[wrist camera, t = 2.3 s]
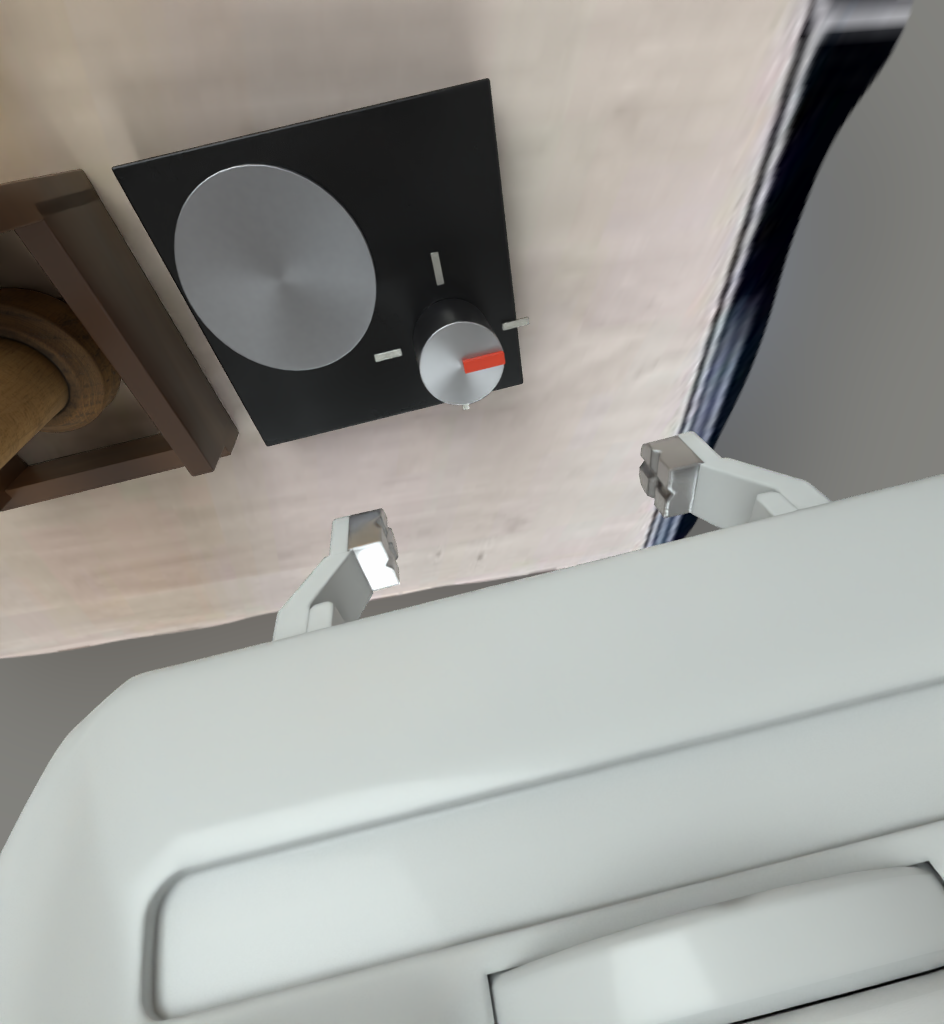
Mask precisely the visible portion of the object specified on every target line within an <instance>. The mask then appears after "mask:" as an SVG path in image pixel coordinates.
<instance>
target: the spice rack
mask: <svg viewBox="0 0 944 1024" xmlns="http://www.w3.org/2000/svg"><path fill="white" fill-rule="evenodd" d="M11 230H14V231H15V232H16V233H17V235H18V236H19V237H20V239H21V240H22V242H23V243H24V244H25V246H26V247H27V249H28V250H29V251H30V253H31V254H32V255H33V257H34V258H35V260H36V261H37V262H38V264H39V265H40V267H41V268H42V269H43V271H44V272H45V273H46V275H47V276H48V278H49V279H50V280H51V282H52V283H53V284H54V286H55V287H56V289H57V290H58V291H59V293H60V294H61V296H62V297H63V298H64V300H65V301H66V302H67V304H68V305H69V307H70V308H71V309H72V311H73V312H74V313H75V315H76V316H77V318H78V319H79V320H80V322H81V323H82V325H83V326H84V327H85V329H86V330H87V331H88V333H89V334H90V336H91V337H92V338H93V340H94V341H95V342H96V344H97V345H98V347H99V348H100V349H101V351H102V352H103V354H104V355H105V356H106V358H107V359H108V360H109V362H110V363H111V365H112V366H113V367H114V369H115V370H116V372H117V373H118V374H119V376H120V377H121V378H122V380H123V381H124V383H125V384H126V385H127V387H128V388H129V389H130V391H131V392H132V394H133V395H134V396H135V398H136V399H137V401H138V402H139V403H140V405H141V406H142V407H143V409H144V410H145V412H146V413H147V414H148V416H149V417H150V418H151V420H152V421H153V423H154V424H155V425H156V427H157V428H158V430H159V431H160V432H161V434H157V435H153V436H149V437H144V438H140V439H136V440H132V441H128V442H124V443H120V444H116V445H112V446H108V447H104V448H100V449H96V450H92V451H87V452H83V453H79V454H75V455H71V456H67V457H63V458H59V459H55V460H51V461H47V462H43V463H39V464H34V465H30V466H28V465H27V464H26V463H25V462H24V461H23V460H22V459H21V458H20V457H19V456H18V455H17V454H15V455H14V456H13V457H12V458H11V459H10V460H9V461H8V462H7V463H6V464H5V465H4V466H3V467H2V468H1V469H0V512H1V511H6V510H10V509H14V508H18V507H22V506H26V505H30V504H34V503H38V502H42V501H46V500H50V499H54V498H58V497H62V496H66V495H70V494H74V493H79V492H83V491H87V490H91V489H95V488H99V487H103V486H107V485H111V484H115V483H119V482H123V481H127V480H131V479H135V478H139V477H143V476H147V475H151V474H156V473H160V472H164V471H168V470H172V469H176V468H180V467H184V466H185V467H186V468H187V470H188V471H189V472H190V474H191V475H192V476H197V475H201V474H205V473H209V472H213V471H214V470H215V467H216V465H217V463H218V460H219V458H220V457H224V456H228V455H231V452H232V449H233V447H234V444H235V442H236V439H237V437H238V434H239V432H238V431H237V429H236V427H235V426H234V424H233V422H232V421H231V419H230V417H229V416H228V414H227V413H226V411H225V409H224V408H223V406H222V404H221V403H220V401H219V399H218V398H217V396H216V394H215V393H214V391H213V389H212V388H211V386H210V384H209V382H208V381H207V379H206V377H205V376H204V374H203V372H202V371H201V369H200V367H199V366H198V364H197V362H196V361H195V359H194V357H193V356H192V354H191V352H190V351H189V349H188V347H187V345H186V344H185V342H184V340H183V339H182V337H181V335H180V334H179V332H178V330H177V329H176V327H175V325H174V324H173V322H172V320H171V319H170V317H169V315H168V314H167V312H166V310H165V308H164V307H163V305H162V303H161V302H160V300H159V298H158V297H157V295H156V293H155V292H154V290H153V288H152V287H151V285H150V283H149V282H148V280H147V278H146V277H145V275H144V273H143V271H142V270H141V268H140V266H139V265H138V263H137V261H136V260H135V258H134V256H133V255H132V253H131V251H130V250H129V248H128V246H127V245H126V243H125V241H124V240H123V238H122V236H121V234H120V233H119V231H118V229H117V228H116V226H115V224H114V223H113V221H112V219H111V218H110V216H109V214H108V213H107V211H106V209H105V208H104V206H103V204H102V203H101V201H100V199H99V197H98V195H97V194H96V192H95V190H94V189H93V187H92V185H91V184H90V182H89V180H88V179H87V177H86V175H85V173H84V172H83V170H82V169H77V170H72V171H66V172H61V173H56V174H50V175H45V176H39V177H34V178H29V179H23V180H18V181H12V182H7V183H2V184H0V234H2V233H5V232H8V231H11Z"/></svg>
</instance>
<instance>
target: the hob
mask: <svg viewBox="0 0 944 1024" xmlns="http://www.w3.org/2000/svg"><path fill="white" fill-rule="evenodd" d="M243 164H268V165H274V166H279V167H283V168H286V169H289V170H292V171H295V172H297V173H299V174H301V175H304V176H306V177H308V178H309V179H311V180H313V181H314V182H316V183H317V184H319V185H321V186H322V187H323V188H324V189H326V190H327V191H328V192H329V193H331V194H332V195H333V196H334V197H335V198H336V199H337V200H338V201H339V202H340V203H341V204H342V205H343V206H344V207H345V208H346V210H347V211H348V212H349V213H350V215H351V216H352V217H353V218H354V220H355V222H356V223H357V225H358V226H359V228H360V230H361V231H362V233H363V235H364V238H365V240H366V242H367V244H368V247H369V249H370V252H371V255H372V259H373V263H374V267H375V274H376V284H377V288H376V303H375V309H374V313H373V316H372V320H371V322H370V324H369V326H368V329H367V331H366V332H365V334H364V336H363V337H362V339H361V340H360V341H359V342H358V344H357V345H356V346H355V347H354V348H353V349H352V350H351V351H350V352H349V353H347V354H346V355H345V356H343V357H342V358H340V359H339V360H337V361H335V362H333V363H331V364H329V365H326V366H323V367H319V368H315V369H310V370H297V371H294V370H282V369H277V368H272V367H268V366H265V365H262V364H259V363H257V362H254V361H252V360H250V359H247V358H246V357H244V356H242V355H240V354H238V353H237V352H235V351H234V350H232V349H231V348H229V347H228V346H227V345H225V344H224V343H223V342H222V341H221V340H219V339H218V338H217V337H216V336H215V335H214V334H213V333H212V332H211V331H210V330H209V329H208V328H207V327H206V326H205V324H204V323H203V322H202V321H201V319H200V318H199V317H198V316H197V314H196V313H195V311H194V309H193V308H192V306H191V305H190V303H189V301H188V299H187V297H186V295H185V293H184V291H183V288H182V285H181V283H180V280H179V277H178V273H177V268H176V264H175V256H174V234H175V229H176V224H177V220H178V217H179V214H180V212H181V209H182V207H183V205H184V203H185V202H186V200H187V198H188V196H189V195H190V194H191V193H192V192H193V190H194V189H195V188H196V187H197V186H198V185H199V184H200V183H202V182H203V181H204V180H205V179H207V178H208V177H209V176H211V175H213V174H215V173H217V172H219V171H221V170H224V169H227V168H230V167H233V166H237V165H243ZM112 171H113V172H114V174H115V176H116V178H117V180H118V181H119V183H120V185H121V187H122V189H123V190H124V192H125V194H126V196H127V197H128V199H129V201H130V203H131V205H132V206H133V208H134V210H135V212H136V214H137V215H138V217H139V219H140V221H141V222H142V224H143V226H144V228H145V230H146V231H147V233H148V235H149V237H150V239H151V240H152V242H153V244H154V246H155V247H156V249H157V251H158V253H159V255H160V256H161V258H162V260H163V262H164V264H165V265H166V267H167V269H168V271H169V272H170V274H171V276H172V278H173V280H174V281H175V283H176V285H177V287H178V289H179V290H180V292H181V294H182V296H183V297H184V299H185V301H186V303H187V305H188V306H189V308H190V310H191V312H192V314H193V315H194V317H195V319H196V321H197V322H198V324H199V326H200V328H201V330H202V331H203V333H204V335H205V337H206V339H207V340H208V342H209V344H210V346H211V347H212V349H213V351H214V353H215V355H216V356H217V358H218V360H219V362H220V364H221V365H222V367H223V369H224V371H225V372H226V374H227V376H228V378H229V380H230V381H231V383H232V385H233V387H234V389H235V390H236V392H237V394H238V396H239V397H240V399H241V401H242V403H243V405H244V406H245V408H246V410H247V412H248V414H249V415H250V417H251V419H252V421H253V423H254V424H255V426H256V428H257V430H258V431H259V433H260V435H261V437H262V439H263V440H264V442H265V444H266V446H272V445H276V444H280V443H284V442H288V441H292V440H296V439H300V438H304V437H308V436H312V435H316V434H320V433H324V432H328V431H333V430H337V429H341V428H345V427H349V426H353V425H357V424H361V423H365V422H369V421H373V420H377V419H381V418H385V417H389V416H393V415H397V414H401V413H405V412H409V411H414V410H418V409H422V408H426V407H430V406H434V405H438V404H442V403H445V402H443V401H440V400H439V399H437V398H435V397H434V396H433V395H432V394H431V393H430V392H429V391H428V390H427V389H426V387H425V386H424V384H423V382H422V379H421V376H420V372H419V367H418V363H417V358H416V353H415V348H414V343H413V335H414V329H415V326H416V323H417V321H418V319H419V317H420V316H421V314H422V313H423V312H424V311H425V310H426V309H427V308H428V307H429V306H431V305H432V304H434V303H436V302H438V301H441V300H444V299H454V298H455V299H461V300H465V301H467V302H470V303H471V304H473V305H475V306H476V307H477V308H478V309H479V310H480V311H481V312H482V313H483V315H484V316H485V318H486V320H487V321H488V323H489V325H490V326H491V328H492V330H493V331H494V333H495V335H496V336H497V338H498V340H499V342H500V344H501V346H502V349H503V352H504V356H505V364H504V369H503V373H502V376H501V378H500V380H499V382H498V384H497V385H496V387H495V388H494V389H493V390H492V391H495V390H499V389H503V388H507V387H511V386H515V385H519V384H522V383H523V375H522V366H521V357H520V348H519V339H518V330H517V327H520V326H524V325H528V324H529V317H524V318H520V319H516V312H515V303H514V294H513V285H512V276H511V267H510V258H509V249H508V240H507V231H506V222H505V213H504V204H503V195H502V186H501V177H500V168H499V159H498V150H497V141H496V132H495V123H494V114H493V104H492V95H491V86H490V80H489V79H488V78H486V79H482V80H477V81H473V82H469V83H465V84H461V85H456V86H452V87H448V88H444V89H439V90H435V91H431V92H427V93H422V94H418V95H414V96H410V97H406V98H401V99H397V100H393V101H389V102H384V103H380V104H376V105H372V106H368V107H363V108H359V109H355V110H351V111H346V112H342V113H338V114H334V115H329V116H325V117H321V118H317V119H313V120H308V121H304V122H300V123H296V124H291V125H287V126H283V127H279V128H274V129H270V130H266V131H262V132H258V133H253V134H249V135H245V136H241V137H236V138H232V139H228V140H224V141H219V142H215V143H211V144H207V145H203V146H198V147H194V148H190V149H186V150H181V151H177V152H173V153H169V154H164V155H160V156H156V157H152V158H148V159H143V160H139V161H135V162H131V163H126V164H122V165H118V166H114V167H112ZM462 406H463V410H465V409H469V404H466V405H462Z"/></svg>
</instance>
